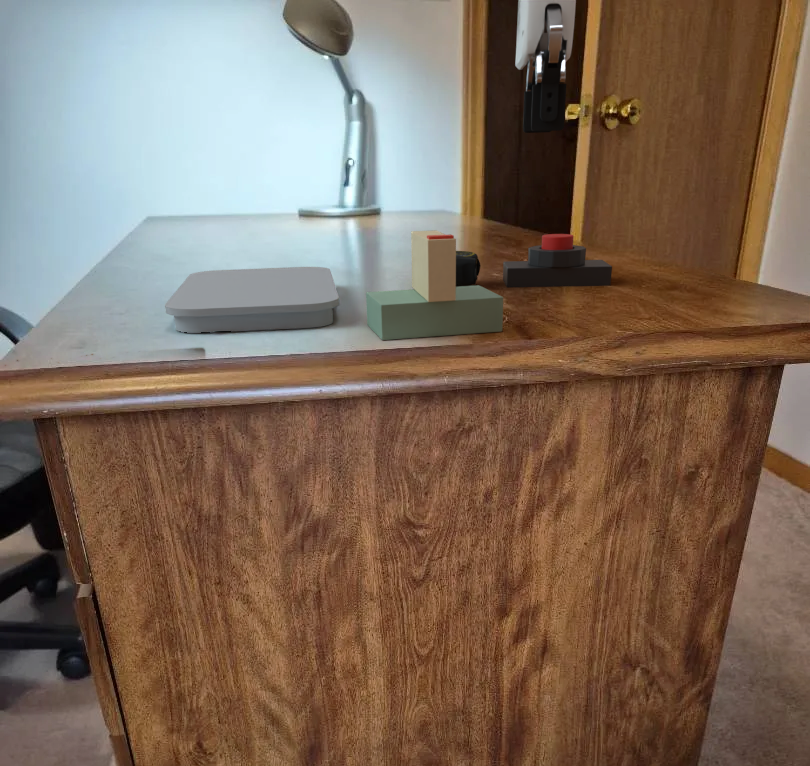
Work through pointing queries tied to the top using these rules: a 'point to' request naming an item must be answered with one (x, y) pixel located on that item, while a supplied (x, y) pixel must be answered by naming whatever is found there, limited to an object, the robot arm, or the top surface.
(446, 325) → the green rectangular block
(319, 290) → the grey flat slab
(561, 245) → the bell button
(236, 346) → the top surface
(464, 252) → the tape measure
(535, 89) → the robot arm
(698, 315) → the top surface
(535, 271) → the dark grey button housing
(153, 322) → the top surface
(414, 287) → the cream red-tipped block
